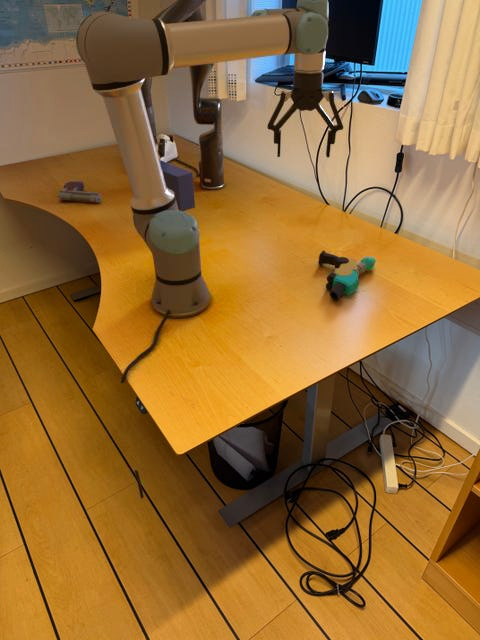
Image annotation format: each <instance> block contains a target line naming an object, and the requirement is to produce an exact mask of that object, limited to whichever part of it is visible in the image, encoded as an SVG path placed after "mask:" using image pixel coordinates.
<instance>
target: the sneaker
mask: <svg viewBox="0 0 480 640" xmlns="http://www.w3.org/2000/svg"><path fill="white" fill-rule="evenodd" d="M159 137H160V138H163V139H165V156H164V157H162V158H161V159H160V160H161V161H164V162H166V163H168V162H170V161H172V160H174V158H175V159H177V157H178V156H179V155H178V149H177V144H176V140H175V136H174V135H173V134H164V133H161V134H158V135H157V136H156V138H159ZM156 149H157V151H158V144H156Z"/></svg>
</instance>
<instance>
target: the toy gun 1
mask: <svg viewBox="0 0 480 640" xmlns="http://www.w3.org/2000/svg"><path fill="white" fill-rule="evenodd" d="M84 189H85V184H84V181H82V180H70V181H68V182H65V183H64V185H63V189H60V190H59V193H58V195H57V196H56V197H57V198H58V199H59V200H61V201H71V202H85V203H97V204H98V203H99V204H101V200H102V198H103V197H102V194H101V193H99V192H94V191H89V192H88V191H84Z"/></svg>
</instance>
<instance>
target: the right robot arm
mask: <svg viewBox="0 0 480 640" xmlns="http://www.w3.org/2000/svg"><path fill="white" fill-rule="evenodd" d="M206 1H207V0H176V1H174V2H172V3H171V4H170V5H168V6H167V7H165V8H162V10H160V11H159V12H158V13H156V14H155V15H154V16H153V18H152V19H156V18H159V19H161V20H162V21H163V22H164V23H165V24H172V23H183V22H195V21H205V18H204V16H203V13H202V11H201V6H202V5H203V4H205V2H206ZM214 66H215V63H211V64H203V65H195V66H188V69H189V76H190V84H191V85H190V86H191V101H192V103H191V104H192V115H193V120H194V122H195V123H196V124H197V125H205V126H207V125H209V126H213V127H212V128H211V129H210V130H208V131H204V132H202V133H200V135H199V136H198V146H199V147H198V149H199V162H198V168H197V167H195V166H193V165H191V164H189V163H187V162H185V161H182V160H180V159H178V158H174V159H173V160H174V161H176V162H178V163H180V164H183V165H184V166H187V167H189V168H191V169H193V170H195V171H196V176H197V177H199V184H200V185H199V186H201V188H202V189H205V190H210V191H211V190H212V191H213V190H220V189H222V188H224V187H225V167H224V166H225V165H224V139H223V138H224V137H223V112H224V111H223V102H222V99H221V98H220V97H202V91H203V89H204V86H205V84H206V82H207V79H208V78H209V76H210V75H211V72H212V70H213V68H214ZM152 84H153V77H149V78H145V80H144V82H143V84H142V86H141V92H142V96H143V100H144V103H145V107H146V111H147V115H148V119H149V123H150V126H151V130H152V134H153V138H154V142H155V145H156V144H158V151H157V153H158V157H159V160H160V159H161V158H162V157H164V156H165V139H163V138H160V137H159V138H157V127H156V126H157V125H156V117H155V110H154V106H153V99H152V86H153V85H152Z"/></svg>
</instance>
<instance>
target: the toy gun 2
mask: <svg viewBox="0 0 480 640" xmlns="http://www.w3.org/2000/svg"><path fill="white" fill-rule="evenodd" d="M324 264H325V265H330V266H334V270H333V271H332V272H330V273H328V275H327V277H326V281H327V283H326V284H325V288H326V290H328V291H329V296H330V298H331V300H332V301H333V302H336V303H338V302H339V301H340V300H341V299H342V298H343V297H344V294H345V295H347V296H349V295H352V294H353V293H355V292H356V290H357V289H358V287H359V284H360V280H359V276H360V275H362V274H363V273H365V272H369V271H371V270H372V269H373V268H374V267H375V265H376V259H375V257H373V256H365V257H363V258H362V259H360V262H359V263H358V261H357V259H354V258H352V257H351V258H350V257H344V256H337V255H335V254H332V253H328V252H326V250H322V251H321V252H320V253H319V256H318V266H323V265H324Z"/></svg>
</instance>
